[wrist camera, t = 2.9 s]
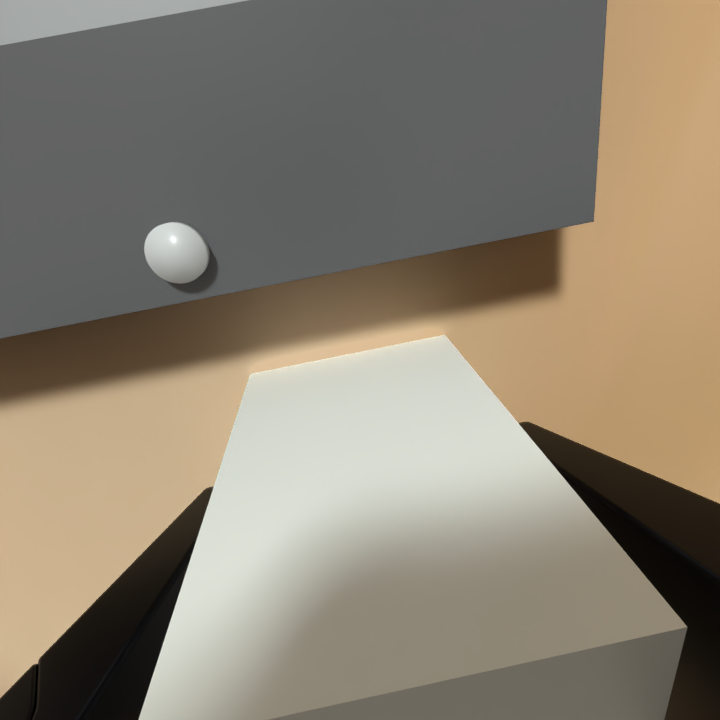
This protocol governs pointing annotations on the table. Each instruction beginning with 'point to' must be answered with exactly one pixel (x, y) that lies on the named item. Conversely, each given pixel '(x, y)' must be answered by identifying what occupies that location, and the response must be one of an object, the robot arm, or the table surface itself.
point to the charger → (404, 563)
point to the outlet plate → (279, 141)
